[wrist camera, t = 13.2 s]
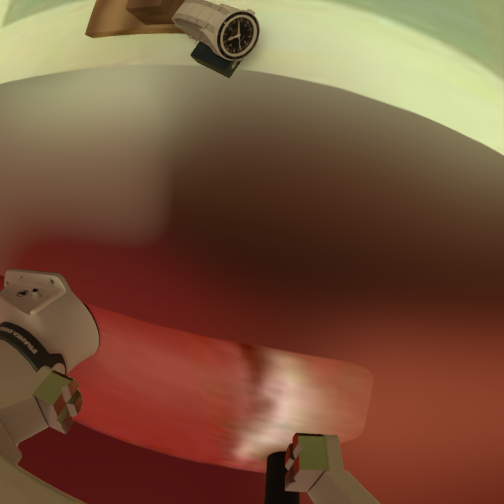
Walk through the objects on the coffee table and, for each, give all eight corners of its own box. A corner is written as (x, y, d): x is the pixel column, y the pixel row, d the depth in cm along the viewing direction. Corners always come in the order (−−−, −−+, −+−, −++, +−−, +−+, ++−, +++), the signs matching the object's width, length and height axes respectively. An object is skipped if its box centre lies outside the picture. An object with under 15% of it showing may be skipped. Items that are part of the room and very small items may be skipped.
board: (92, 38, 28) (84, 34, 26) (109, -10, 25) (102, -15, 23) (189, 33, 27) (184, 27, 25) (204, -18, 25) (201, -25, 23)
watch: (244, 86, 29) (229, 58, 19) (185, 56, 29) (148, 24, 18) (271, 48, 28) (268, 7, 17) (211, 20, 27) (186, -24, 16)
